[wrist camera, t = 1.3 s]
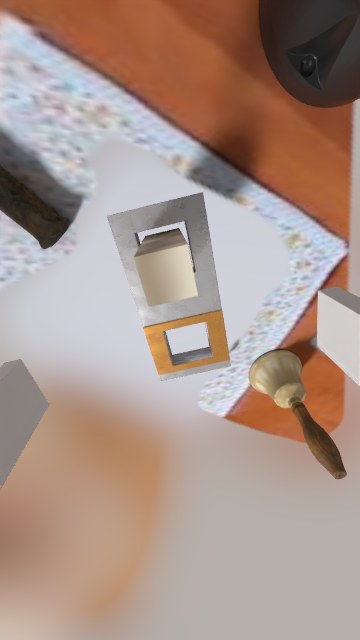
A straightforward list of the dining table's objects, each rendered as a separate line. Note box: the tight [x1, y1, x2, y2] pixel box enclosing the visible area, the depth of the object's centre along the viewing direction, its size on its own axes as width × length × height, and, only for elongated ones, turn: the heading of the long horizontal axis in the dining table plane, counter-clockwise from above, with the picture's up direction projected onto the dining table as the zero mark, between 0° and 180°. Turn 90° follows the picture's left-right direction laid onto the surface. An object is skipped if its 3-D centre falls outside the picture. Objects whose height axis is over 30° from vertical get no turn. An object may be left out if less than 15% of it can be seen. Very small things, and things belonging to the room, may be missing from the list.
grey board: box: [107, 193, 231, 381], centre depth 30 cm, size 10×22×3 cm, turn 13°
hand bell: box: [249, 350, 347, 479], centre depth 31 cm, size 8×8×16 cm
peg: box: [134, 228, 198, 307], centre depth 24 cm, size 4×4×12 cm
